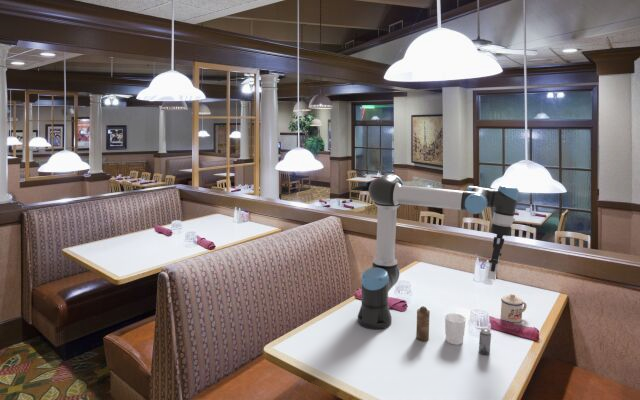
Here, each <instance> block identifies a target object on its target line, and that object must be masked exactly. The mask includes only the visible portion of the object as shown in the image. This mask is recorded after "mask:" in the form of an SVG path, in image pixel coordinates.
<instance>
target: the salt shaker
mask: <svg viewBox="0 0 640 400" xmlns="http://www.w3.org/2000/svg"><path fill="white" fill-rule="evenodd" d="M491 339H492V333H491V330H490V329H488V328H481V329H480V331H479V341H478V342H479V343H478V353H479V354H480V355H483V356H489V355H490V354H491V353H490V352H491V341H492V340H491Z"/></svg>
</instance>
